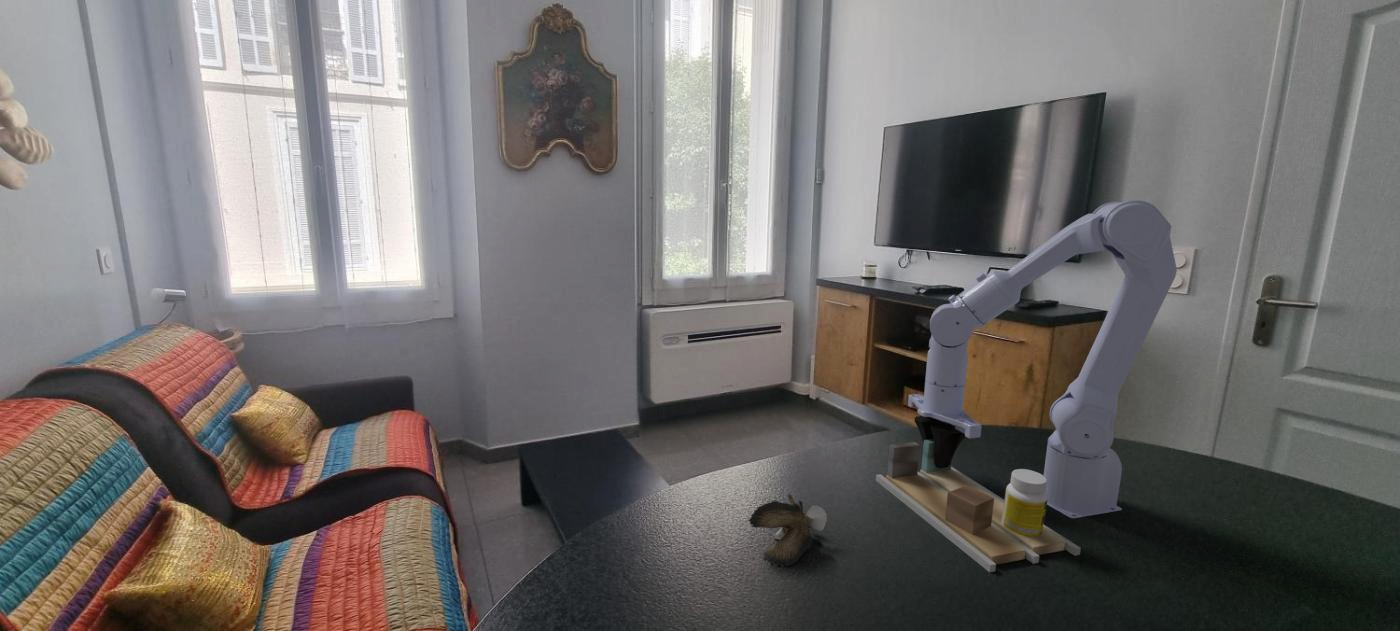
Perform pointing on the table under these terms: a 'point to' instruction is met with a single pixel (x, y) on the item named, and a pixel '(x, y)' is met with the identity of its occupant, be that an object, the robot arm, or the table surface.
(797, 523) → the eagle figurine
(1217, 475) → the table surface
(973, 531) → the walnut cube
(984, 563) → the lane board
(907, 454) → the gray handled wooden slider
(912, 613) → the table surface
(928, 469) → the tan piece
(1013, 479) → the supplement bottle
